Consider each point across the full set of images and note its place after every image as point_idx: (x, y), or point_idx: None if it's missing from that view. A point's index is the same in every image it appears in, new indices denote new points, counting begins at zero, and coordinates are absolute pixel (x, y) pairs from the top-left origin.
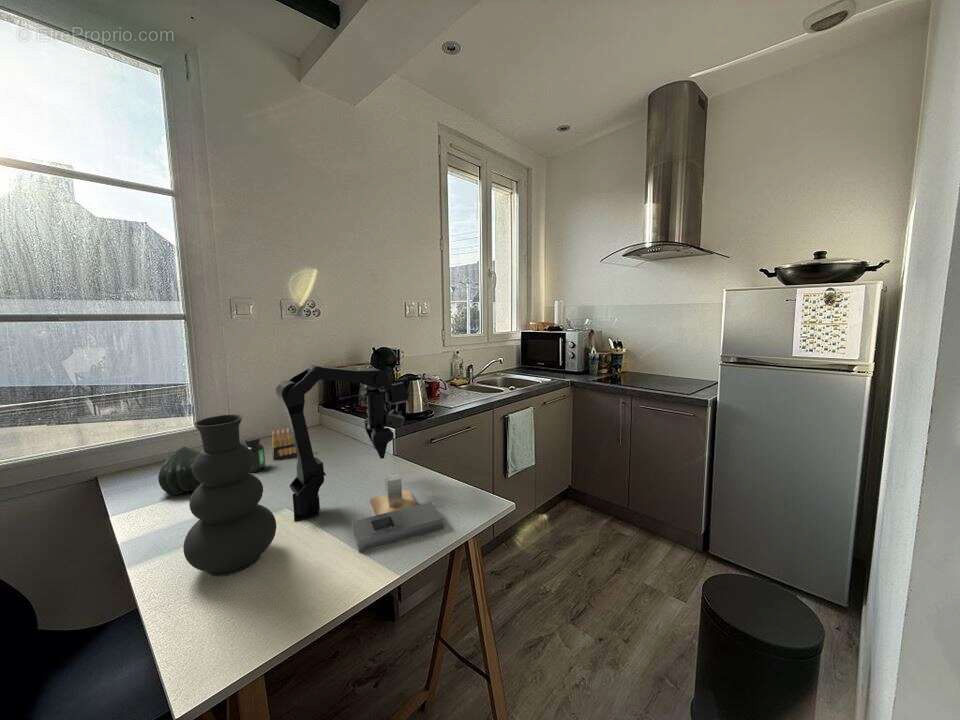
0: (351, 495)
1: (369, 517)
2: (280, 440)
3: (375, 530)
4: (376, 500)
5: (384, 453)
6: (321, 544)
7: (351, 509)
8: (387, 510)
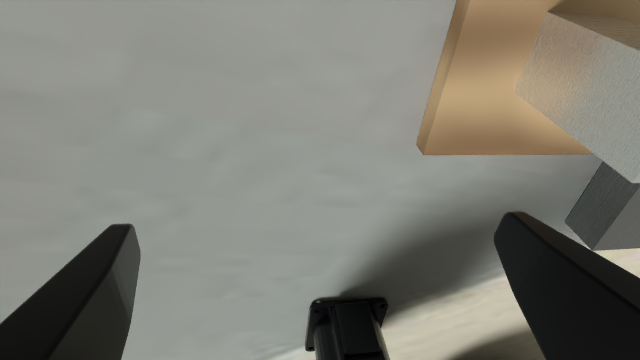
0: (288, 205)
1: (630, 203)
2: None
3: None
4: (466, 132)
5: (589, 257)
6: None
7: (418, 214)
8: None
